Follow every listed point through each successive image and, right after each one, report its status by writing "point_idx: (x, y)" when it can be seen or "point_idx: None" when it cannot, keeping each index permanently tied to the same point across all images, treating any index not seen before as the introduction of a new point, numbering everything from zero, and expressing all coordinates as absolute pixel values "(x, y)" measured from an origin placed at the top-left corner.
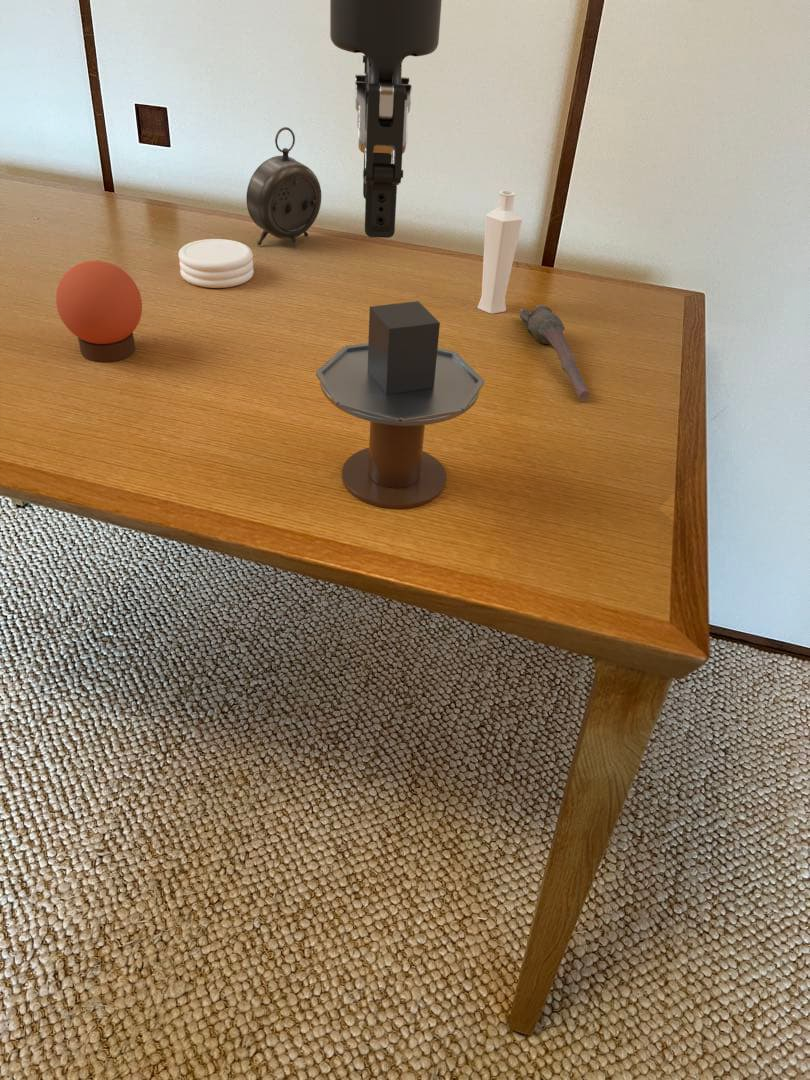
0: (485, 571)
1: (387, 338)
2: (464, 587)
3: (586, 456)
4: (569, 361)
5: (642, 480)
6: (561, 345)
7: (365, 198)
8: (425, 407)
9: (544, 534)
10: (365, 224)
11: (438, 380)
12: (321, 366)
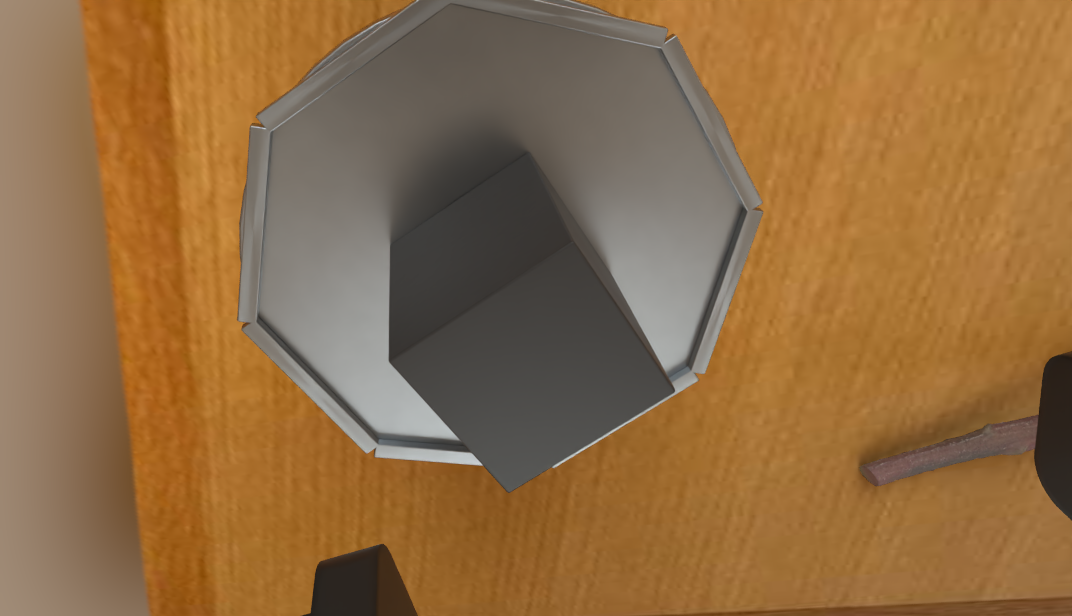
0: (213, 386)
1: (397, 331)
2: (146, 361)
3: (655, 492)
4: (997, 446)
5: (595, 577)
6: None
7: (1056, 360)
8: (359, 361)
9: (371, 460)
10: (316, 605)
11: None
12: None
